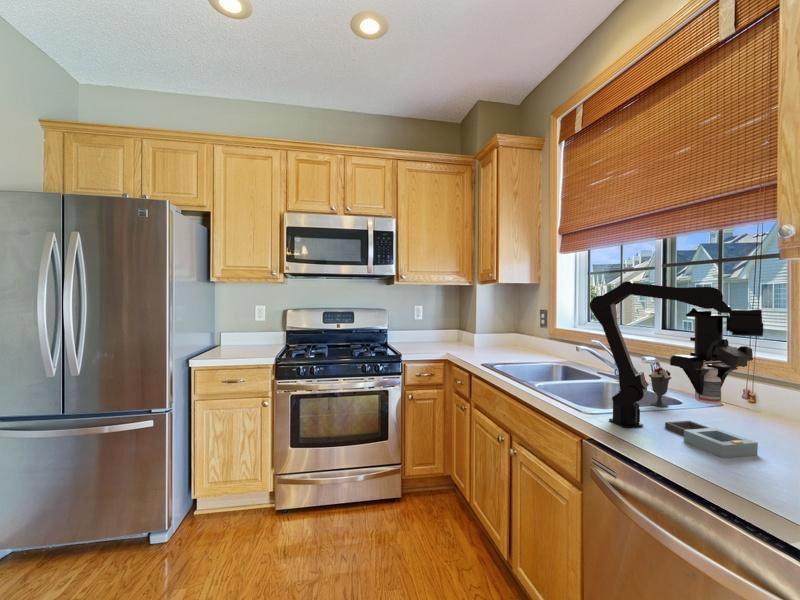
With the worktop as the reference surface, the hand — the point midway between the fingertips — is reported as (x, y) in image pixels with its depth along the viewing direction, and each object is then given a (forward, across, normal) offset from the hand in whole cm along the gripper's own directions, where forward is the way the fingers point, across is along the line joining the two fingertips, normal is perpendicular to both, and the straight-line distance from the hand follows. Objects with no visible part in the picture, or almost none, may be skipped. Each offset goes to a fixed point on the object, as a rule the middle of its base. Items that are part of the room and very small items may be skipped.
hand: (707, 393), depth 97 cm
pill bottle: (+2, 0, 0) cm, 2 cm away
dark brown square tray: (+13, +2, +6) cm, 14 cm away
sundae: (+13, +15, +28) cm, 35 cm away
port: (+13, -2, -4) cm, 13 cm away
